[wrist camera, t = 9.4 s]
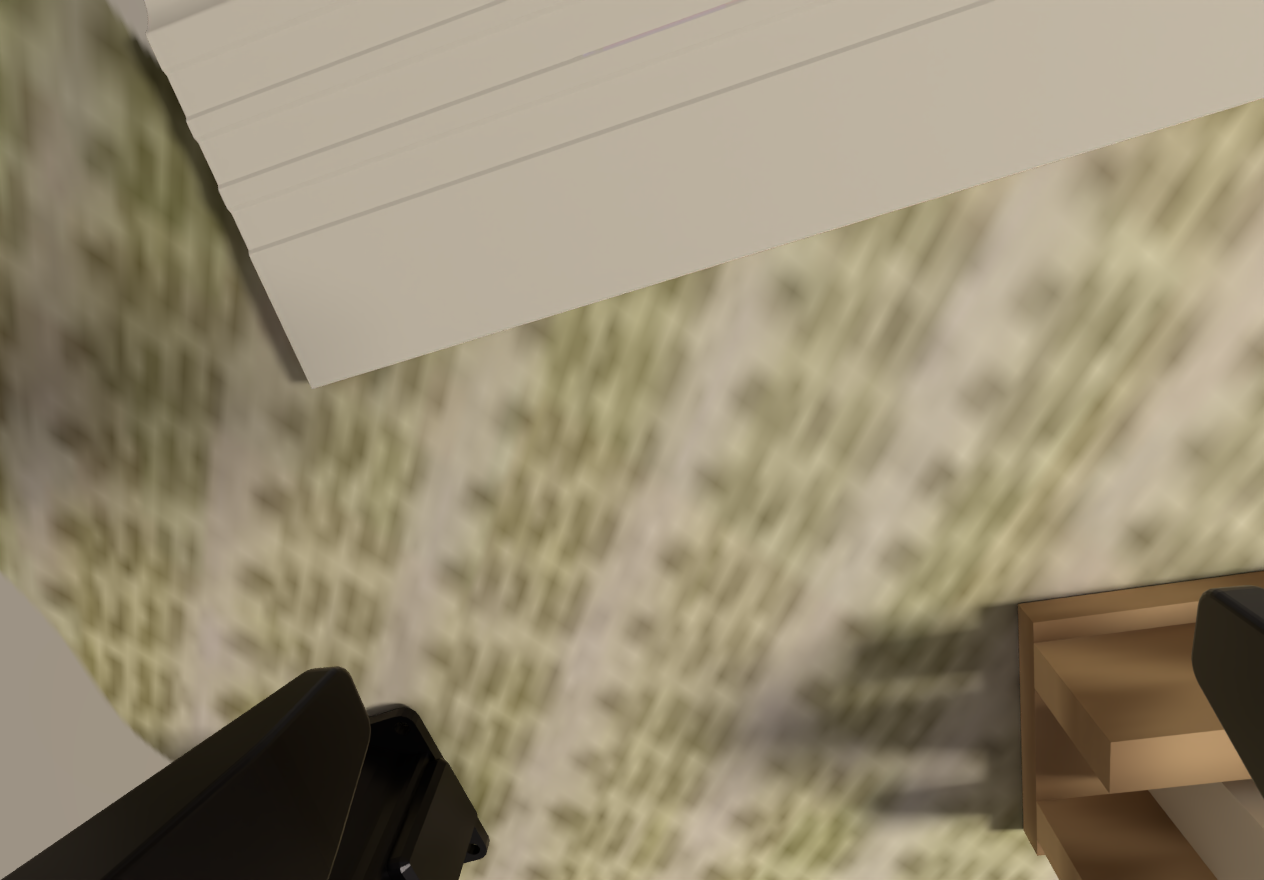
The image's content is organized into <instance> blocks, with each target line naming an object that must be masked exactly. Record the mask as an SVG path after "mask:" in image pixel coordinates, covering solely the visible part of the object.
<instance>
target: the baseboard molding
mask: <svg viewBox="0 0 1264 880" xmlns="http://www.w3.org/2000/svg"><path fill="white" fill-rule="evenodd" d="M144 3H145V5H146V9H147V14H148V27H147V31H146V37H147V39H148V41H149V44H150V46H151V48H152V50H153V52H154V54H155V56H156V58H157V61H158V63H159V65H160V67H161V69H162V71H163V72H164V73H165V74H166V75H167V77H168V79H169V81H170V84H171V86H172V88H173V90H174V92H175V94H176V96H177V98H178V101H179V103H180V105H181V107H182V109H183V111H184V113H185V116H186V122H187V124H188V126H189V129H190V131H191V133H192V135H193V137H194V139H195V140H196V141H197V142H198V143H199V145H200V147H201V150H202V152H203V154H204V156H205V158H206V160H207V162H208V165H209V167H210V169H211V171H212V173H213V175H214V177H215V179H216V182H217V184H218V190H219V192H220V195H221V197H222V199H223V201H224V203H225V205H226V207H227V209H228V210H229V211H230V212H231V214H232V216H233V218H234V220H235V222H236V224H237V226H238V228H239V231H240V233H241V235H242V237H243V239H244V241H245V243H246V246H247V248H248V250H249V256H250V258H251V261H252V263H253V265H254V267H255V269H256V271H257V273H258V275H259V278H260V280H261V282H262V284H263V286H264V288H265V290H266V292H267V295H268V297H269V299H270V301H271V303H272V305H273V307H274V309H275V312H276V314H277V316H278V318H279V320H280V322H281V324H282V326H283V329H284V331H285V333H286V335H287V337H288V339H289V341H290V343H291V346H292V348H293V350H294V352H295V354H296V356H297V358H298V360H299V363H300V365H301V367H302V369H303V371H304V373H305V375H306V377H307V380H308V382H309V384H310V386H311V388H312V389H314V388H317V387H321V386H324V385H327V384H330V383H334V382H337V381H340V380H343V379H347V378H350V377H353V376H357V375H360V374H363V373H366V372H370V371H373V370H376V369H379V368H383V367H386V366H389V365H393V364H396V363H399V362H402V361H406V360H409V359H412V358H415V357H419V356H422V355H425V354H428V353H432V352H435V351H438V350H442V349H445V348H448V347H451V346H455V345H458V344H461V343H464V342H468V341H471V340H474V339H478V338H481V337H484V336H487V335H491V334H494V333H497V332H500V331H504V330H507V329H510V328H514V327H517V326H520V325H523V324H527V323H530V322H533V321H536V320H540V319H543V318H546V317H549V316H553V315H556V314H559V313H563V312H566V311H569V310H572V309H576V308H579V307H582V306H585V305H589V304H592V303H595V302H599V301H602V300H605V299H608V298H612V297H615V296H618V295H621V294H625V293H628V292H631V291H634V290H638V289H641V288H644V287H648V286H651V285H654V284H657V283H661V282H664V281H667V280H670V279H674V278H677V277H680V276H684V275H687V274H690V273H693V272H697V271H700V270H703V269H706V268H710V267H713V266H716V265H720V264H723V263H726V262H729V261H733V260H736V259H739V258H742V257H746V256H749V255H752V254H755V253H759V252H762V251H765V250H769V249H772V248H775V247H778V246H782V245H785V244H788V243H791V242H795V241H798V240H801V239H805V238H808V237H811V236H814V235H818V234H821V233H824V232H827V231H831V230H834V229H837V228H841V227H844V226H847V225H850V224H854V223H857V222H860V221H863V220H867V219H870V218H873V217H876V216H880V215H883V214H886V213H890V212H893V211H896V210H899V209H903V208H906V207H909V206H912V205H916V204H919V203H922V202H926V201H929V200H932V199H935V198H939V197H942V196H945V195H948V194H952V193H955V192H958V191H962V190H965V189H968V188H971V187H975V186H978V185H981V184H984V183H988V182H991V181H994V180H997V179H1001V178H1004V177H1007V176H1011V175H1014V174H1017V173H1020V172H1024V171H1027V170H1030V169H1033V168H1037V167H1040V166H1043V165H1047V164H1050V163H1053V162H1056V161H1060V160H1063V159H1066V158H1069V157H1073V156H1076V155H1079V154H1083V153H1086V152H1089V151H1092V150H1096V149H1099V148H1102V147H1105V146H1109V145H1112V144H1115V143H1118V142H1122V141H1125V140H1128V139H1132V138H1135V137H1138V136H1141V135H1145V134H1148V133H1151V132H1154V131H1158V130H1161V129H1164V128H1168V127H1171V126H1174V125H1177V124H1181V123H1184V122H1187V121H1190V120H1194V119H1197V118H1200V117H1203V116H1207V115H1210V114H1213V113H1217V112H1220V111H1223V110H1226V109H1230V108H1233V107H1236V106H1239V105H1243V104H1246V103H1249V102H1253V101H1256V100H1259V99H1262V98H1264V0H144Z"/></svg>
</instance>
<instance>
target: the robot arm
mask: <svg viewBox="0 0 1264 880" xmlns="http://www.w3.org/2000/svg"><path fill="white" fill-rule="evenodd" d="M1191 660H1192V667H1193V671H1194V674H1195V677H1196V680H1197V682H1198V684H1199V686H1200V687H1201V689H1202V691H1203V693H1204V695H1205V696H1206V698H1207V700H1208V702H1209V703H1210V705H1211V707H1212V709H1213V711H1214V712H1215V714H1216V716H1217V718H1218V719H1219V721H1220V723H1221V725H1222V727H1223V728H1224V730H1225V732H1226V734H1227V735H1228V737H1229V739H1230V741H1231V743H1232V744H1233V746H1234V748H1235V750H1236V751H1237V753H1238V755H1239V757H1240V759H1241V760H1242V762H1243V764H1244V766H1245V767H1246V769H1247V771H1248V773H1249V775H1250V776H1251V778H1252V780H1253V782H1254V783H1255V785H1256V787H1257V789H1258V791H1259V792H1260V794H1261V796H1262V798H1263V799H1264V588H1261V587H1258V586H1253V585H1242V586H1231V587H1220V588H1211V589H1208V590H1206V591H1205V592H1203V593H1202V595H1201V597H1200V598H1199V602H1198V607H1197V615H1196V623H1195V630H1194V638H1193V646H1192V653H1191ZM400 722H403V723H406V724H407V725H408V726H404V725H402V724H401V723H400ZM489 841H490V840H489V836H488V835H487V833H486V831H485V829H484V828H483V826H482V824H481V822H480V821H479V819H478V817H477V812H476V811H475V809H474V807H473V805H472V804H471V802H470V800H469V798H468V797H467V795H466V793H465V791H464V790H463V788H462V786H461V784H460V783H459V781H458V779H457V777H456V776H455V774H454V772H453V770H452V769H451V767H450V765H449V764H448V762H446V761H445V760H444V758H443V756H442V755H441V753H440V751H439V749H438V748H437V746H436V744H435V742H434V741H433V739H432V737H431V735H430V734H429V732H428V730H427V728H426V727H425V725H424V723H423V721H422V720H421V718H420V716H419V715H418V714H417V713H416V712H415V711H413V710H412V709H409V708H399V709H395V710H392V711H389V712H385V713H382V714H379V715H375V716H372V717H368V714H367V712H366V710H365V707H364V705H363V703H362V701H361V698H360V696H359V694H358V691H357V689H356V687H355V684H354V682H353V680H352V677H351V675H350V674H349V672H348V671H347V670H346V669H344V668H342V667H326V668H315V669H310V670H307V671H306V672H304V673H302V674H301V675H299V676H298V677H296V678H295V679H294V680H292V681H291V682H289V683H288V684H286V685H285V686H283V687H282V688H280V689H279V690H277V691H276V692H275V693H273V694H272V695H270V696H269V697H267V698H266V699H264V700H263V701H261V702H260V703H258V704H257V705H256V706H254V707H253V708H251V709H250V710H248V711H247V712H245V713H244V714H242V715H241V716H239V717H238V718H237V719H235V720H234V721H232V722H231V723H229V724H228V725H226V726H225V727H223V728H222V729H221V730H219V731H218V732H216V733H215V734H213V735H212V736H210V737H209V738H207V739H206V740H204V741H203V742H202V743H200V744H199V745H197V746H196V747H194V748H193V749H191V750H190V751H188V752H187V753H185V754H184V755H183V756H181V757H180V758H178V759H177V760H175V761H174V762H172V763H171V764H169V765H168V766H166V767H165V768H164V769H162V770H161V771H160V772H158V773H156V774H155V775H153V776H152V777H150V778H149V779H148V780H146V781H145V782H143V783H142V784H140V785H139V786H137V787H136V788H134V789H133V790H131V791H130V792H128V793H127V794H126V795H124V796H123V797H121V798H120V799H118V800H117V801H115V802H114V803H112V804H111V805H109V806H108V807H107V808H105V809H104V810H102V811H101V812H99V813H98V814H96V815H95V816H93V817H92V818H91V819H89V820H88V821H86V822H85V823H83V824H82V825H80V826H79V827H77V828H76V829H74V830H73V831H72V832H70V833H69V834H67V835H66V836H64V837H63V838H61V839H60V840H58V841H57V842H55V843H54V844H53V845H51V846H50V847H48V848H47V849H45V850H44V851H42V852H41V853H39V854H38V855H37V856H35V857H34V858H32V859H31V860H30V861H28V862H26V863H25V864H23V865H22V866H20V867H19V868H17V869H16V870H15V871H13V872H12V873H10V874H9V875H7V876H6V877H4V878H3V879H2V880H459V876H460V873H461V870H462V866H463V863H467V862H471V861H475V860H479V859H481V858H483V857H484V856H485V855H486V853H487V849H488V846H489ZM474 844H476V845H474Z"/></svg>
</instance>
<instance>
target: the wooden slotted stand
mask: <svg viewBox="0 0 1264 880" xmlns="http://www.w3.org/2000/svg"><path fill="white" fill-rule="evenodd" d="M1242 585H1253V586H1258V587H1261V588H1264V571H1260V572H1252V573H1245V574H1237V575H1230V576H1222V577H1215V578H1208V579H1200V580H1193V581H1185V582H1178V583H1170V584H1163V585H1155V586H1148V587H1141V588H1133V589H1126V590H1118V591H1111V592H1103V593H1096V594H1088V595H1081V596H1074V597H1066V598H1059V599H1051V600H1044V601H1036V602H1029V603H1022V604H1018V625H1019V666H1020V706H1021V746H1022V787H1023V827H1024V832H1025V834H1026V836H1027V837H1028V839H1029V841H1030V843H1031V845H1032V847H1033V848H1034V850H1035V852H1036V854H1037V856H1038V855H1046V857H1047V858H1048V860H1049V862H1050V864H1051V866H1052V867H1053V869H1054V871H1055V873H1056V875H1057V876H1058V878H1059V880H1218V879H1217V878H1216V877H1215V876H1214V874H1213V873H1212V872H1211V870H1210V869H1209V868H1208V867H1207V865H1206V864H1205V863H1204V861H1203V860H1202V859H1201V858H1200V856H1199V855H1198V854H1197V852H1196V851H1195V850H1194V849H1193V847H1192V846H1191V845H1190V843H1189V842H1188V841H1187V840H1186V838H1185V837H1184V836H1183V834H1182V833H1181V832H1180V831H1179V829H1178V828H1177V827H1176V825H1175V824H1174V823H1173V822H1172V820H1171V819H1170V818H1169V816H1168V815H1167V814H1166V812H1165V811H1164V810H1163V809H1162V807H1161V806H1160V805H1159V803H1158V802H1157V801H1156V800H1155V798H1154V797H1153V796H1152V794H1151V793H1150V792H1149V791H1148V790H1150V789H1160V788H1169V787H1179V786H1188V785H1197V784H1207V783H1216V782H1226V781H1235V780H1245V779H1252V778H1251V776H1250V775H1249V773H1248V771H1247V769H1246V767H1245V766H1244V764H1243V762H1242V760H1241V759H1240V757H1239V755H1238V753H1237V751H1236V750H1235V748H1234V746H1233V744H1232V743H1231V741H1230V739H1229V737H1228V735H1227V734H1226V732H1225V730H1224V728H1223V727H1222V725H1221V723H1220V721H1219V719H1218V718H1217V716H1216V714H1215V712H1214V711H1213V709H1212V707H1211V705H1210V703H1209V702H1208V700H1207V698H1206V696H1205V695H1204V693H1203V691H1202V689H1201V687H1200V686H1199V684H1198V682H1197V680H1196V677H1195V674H1194V671H1193V667H1192V660H1191V653H1192V646H1193V638H1194V630H1195V623H1196V615H1197V607H1198V602H1199V598H1200V597H1201V595H1202V593H1203V592H1205V591H1206V590H1208V589H1211V588H1220V587H1231V586H1242Z"/></svg>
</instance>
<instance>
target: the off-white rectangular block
mask: <svg viewBox="0 0 1264 880" xmlns="http://www.w3.org/2000/svg"><path fill="white" fill-rule="evenodd" d="M1148 791H1149V792H1150V793H1151V794H1152V796H1153V797H1154V798H1155V800H1156V801H1157V802H1158V803H1159V805H1160V806H1161V807H1162V809H1163V810H1164V811H1165V812H1166V814H1167V815H1168V816H1169V818H1170V819H1171V820H1172V822H1173V823H1174V824H1175V825H1176V827H1177V828H1178V829H1179V831H1180V832H1181V833H1182V834H1183V836H1184V837H1185V838H1186V840H1187V841H1188V842H1189V843H1190V845H1191V846H1192V847H1193V849H1194V850H1195V851H1196V852H1197V854H1198V855H1199V856H1200V858H1201V859H1202V860H1203V861H1204V863H1205V864H1206V865H1207V867H1208V868H1209V869H1210V870H1211V872H1212V873H1213V874H1214V876H1215V877H1216V878H1217V879H1218V880H1264V799H1263V798H1262V796H1261V794H1260V792H1259V791H1258V789H1257V787H1256V785H1255V783H1254V782H1253V780H1252V779H1245V780H1235V781H1226V782H1216V783H1207V784H1197V785H1188V786H1179V787H1169V788H1160V789H1150V790H1148Z"/></svg>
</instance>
